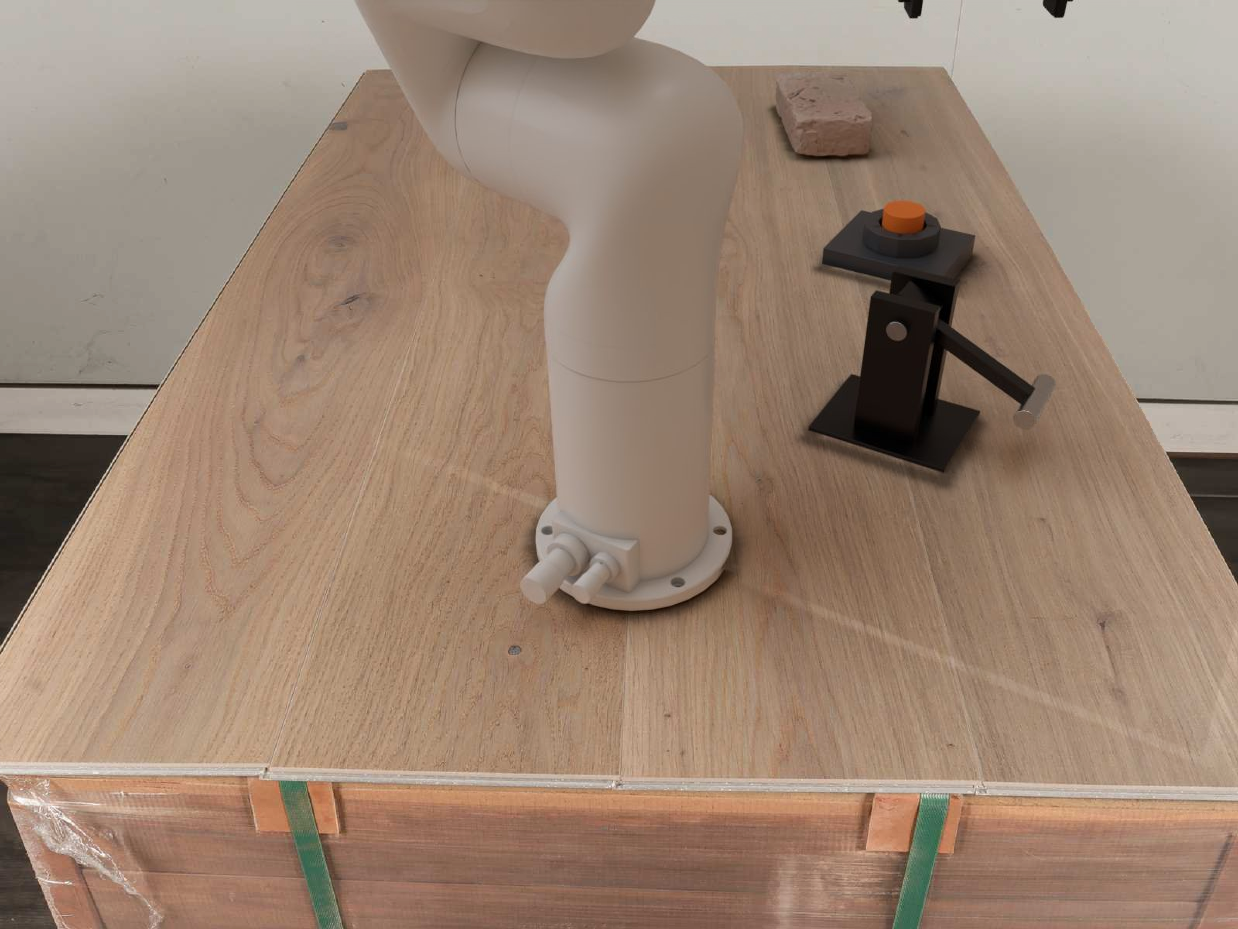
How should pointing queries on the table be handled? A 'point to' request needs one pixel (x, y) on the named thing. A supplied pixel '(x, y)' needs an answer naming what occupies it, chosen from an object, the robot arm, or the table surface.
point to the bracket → (902, 380)
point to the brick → (823, 114)
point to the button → (903, 217)
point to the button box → (897, 248)
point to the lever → (990, 366)
